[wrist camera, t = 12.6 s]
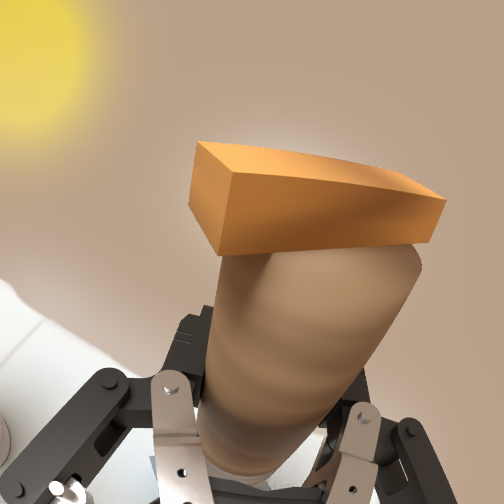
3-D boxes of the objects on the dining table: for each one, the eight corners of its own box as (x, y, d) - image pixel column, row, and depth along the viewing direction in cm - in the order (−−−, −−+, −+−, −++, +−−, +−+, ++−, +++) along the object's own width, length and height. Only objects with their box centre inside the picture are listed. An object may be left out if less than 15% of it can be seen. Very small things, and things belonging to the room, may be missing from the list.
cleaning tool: (195, 508, 12) (281, 214, 3) (169, 442, 15) (182, 129, 7) (292, 476, 15) (484, 224, 6) (260, 419, 18) (369, 157, 10)
